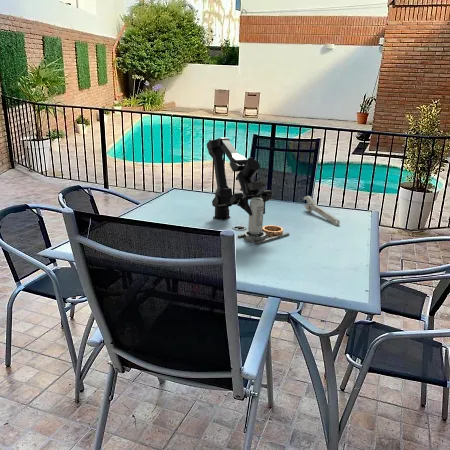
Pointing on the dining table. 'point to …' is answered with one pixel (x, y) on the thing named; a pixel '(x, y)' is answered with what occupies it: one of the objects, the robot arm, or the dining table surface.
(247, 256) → the dining table surface
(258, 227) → the energy drink can
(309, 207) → the wrench
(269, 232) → the socket rail
